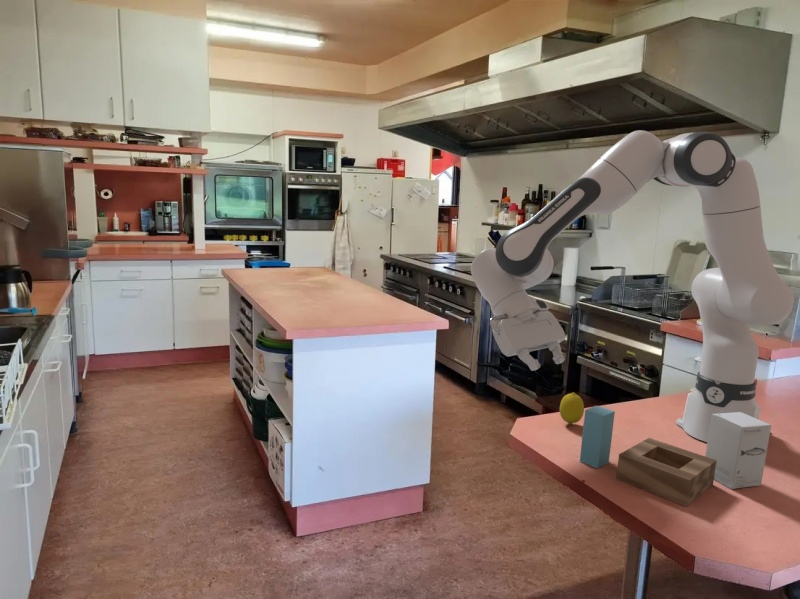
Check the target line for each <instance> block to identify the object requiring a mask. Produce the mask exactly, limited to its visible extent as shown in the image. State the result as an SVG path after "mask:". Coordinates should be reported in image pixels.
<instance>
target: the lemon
mask: <svg viewBox="0 0 800 599" xmlns="http://www.w3.org/2000/svg"><path fill="white" fill-rule="evenodd" d="M559 404H560V405H559V415H560V416H561V418H562V419H563V421H564V422H566V423H567V424H568V425H570V426H572V425H573V424H576V423H578V422H580V421H581V420H582V418H583V417H584V414H585V405H584V401H583V399H582V397H581V396H579V395H578V394H576V393H575V392H571V393H567V394H566V395H564V396H563V397H562V399H561V401H560V403H559Z"/></svg>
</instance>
